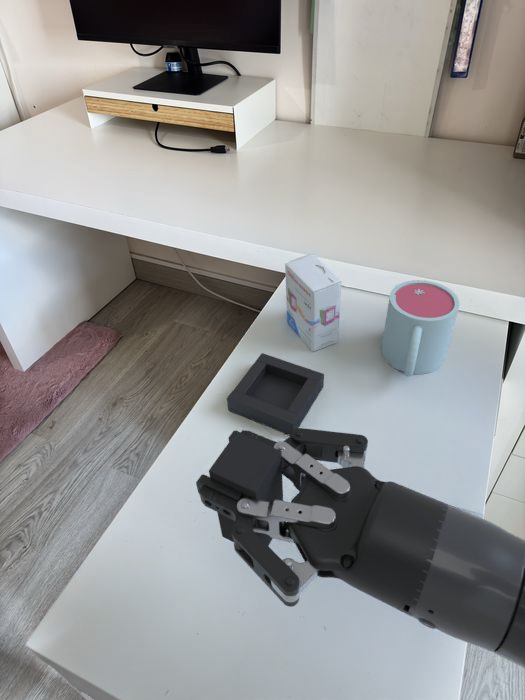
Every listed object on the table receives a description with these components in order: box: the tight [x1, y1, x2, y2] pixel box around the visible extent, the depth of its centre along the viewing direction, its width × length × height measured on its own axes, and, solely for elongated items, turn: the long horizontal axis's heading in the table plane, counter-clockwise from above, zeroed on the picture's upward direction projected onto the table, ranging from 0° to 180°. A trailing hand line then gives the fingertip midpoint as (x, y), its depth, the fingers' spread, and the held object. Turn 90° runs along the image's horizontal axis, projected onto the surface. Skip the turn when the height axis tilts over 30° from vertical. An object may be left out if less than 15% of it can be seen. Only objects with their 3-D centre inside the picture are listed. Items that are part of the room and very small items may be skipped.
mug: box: [380, 279, 460, 377], centre depth 71 cm, size 14×9×10 cm
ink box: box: [284, 253, 342, 352], centre depth 76 cm, size 9×5×12 cm, turn 27°
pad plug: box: [208, 432, 284, 547], centre depth 41 cm, size 4×4×10 cm
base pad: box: [226, 352, 325, 436], centre depth 70 cm, size 10×10×3 cm
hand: (216, 462), depth 40 cm, fingers closed on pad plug, 4 cm apart
